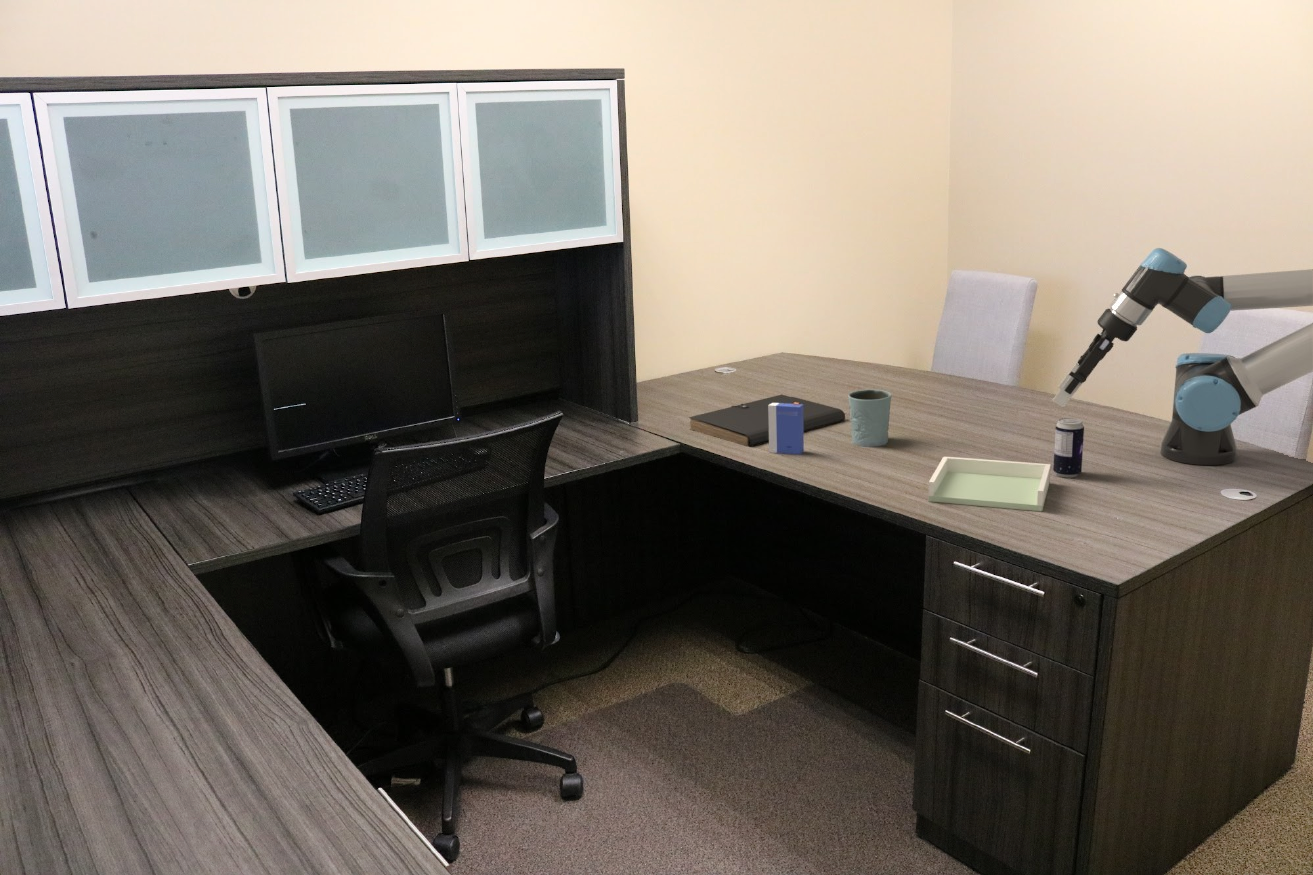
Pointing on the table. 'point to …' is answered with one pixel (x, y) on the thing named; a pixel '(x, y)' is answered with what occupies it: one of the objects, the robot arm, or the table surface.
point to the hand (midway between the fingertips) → (1060, 397)
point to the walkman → (786, 428)
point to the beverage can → (1068, 447)
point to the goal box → (990, 483)
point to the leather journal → (760, 419)
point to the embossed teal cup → (869, 417)
